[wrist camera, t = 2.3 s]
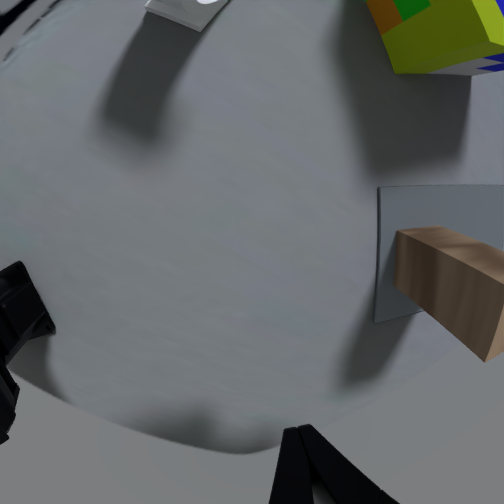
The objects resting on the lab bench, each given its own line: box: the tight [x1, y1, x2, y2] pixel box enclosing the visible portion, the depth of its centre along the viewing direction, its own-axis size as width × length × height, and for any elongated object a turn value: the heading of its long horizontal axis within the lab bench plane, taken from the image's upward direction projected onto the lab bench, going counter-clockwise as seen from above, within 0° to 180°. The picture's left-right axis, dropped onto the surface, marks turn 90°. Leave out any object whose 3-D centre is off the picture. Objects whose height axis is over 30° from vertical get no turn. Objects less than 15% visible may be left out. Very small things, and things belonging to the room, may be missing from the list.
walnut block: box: [393, 225, 504, 362], centre depth 15 cm, size 4×4×11 cm
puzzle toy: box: [365, 0, 504, 76], centre depth 10 cm, size 10×10×10 cm
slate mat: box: [373, 185, 504, 324], centre depth 21 cm, size 17×11×1 cm, turn 96°
